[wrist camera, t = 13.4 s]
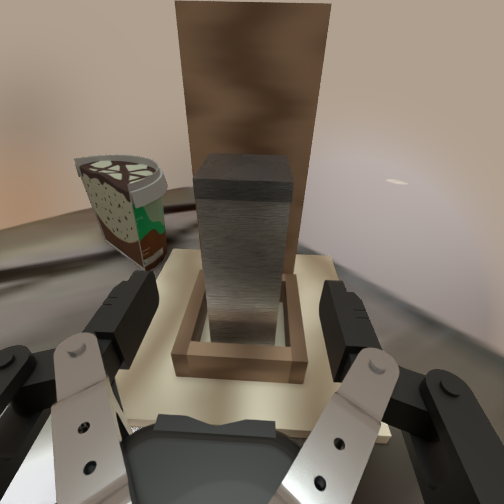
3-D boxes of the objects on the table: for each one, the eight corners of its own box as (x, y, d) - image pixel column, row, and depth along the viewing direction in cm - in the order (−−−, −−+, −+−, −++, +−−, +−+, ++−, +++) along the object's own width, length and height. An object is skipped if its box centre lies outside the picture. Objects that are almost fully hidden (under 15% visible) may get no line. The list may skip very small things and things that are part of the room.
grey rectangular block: (210, 353, 19) (192, 178, 12) (220, 307, 23) (210, 152, 16) (274, 356, 19) (294, 182, 12) (272, 309, 23) (287, 155, 16)
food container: (199, 253, 32) (190, 170, 26) (153, 278, 28) (131, 186, 22) (143, 220, 38) (126, 148, 33) (99, 237, 34) (72, 157, 29)
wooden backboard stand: (88, 423, 16) (-314, -154, 4) (174, 255, 31) (133, 20, 19) (386, 443, 16) (820, -153, 4) (328, 263, 31) (383, 25, 19)
